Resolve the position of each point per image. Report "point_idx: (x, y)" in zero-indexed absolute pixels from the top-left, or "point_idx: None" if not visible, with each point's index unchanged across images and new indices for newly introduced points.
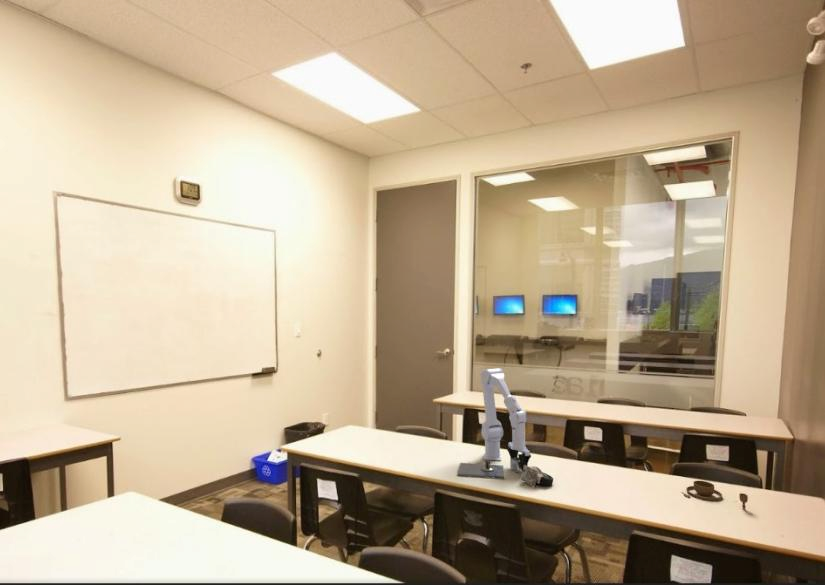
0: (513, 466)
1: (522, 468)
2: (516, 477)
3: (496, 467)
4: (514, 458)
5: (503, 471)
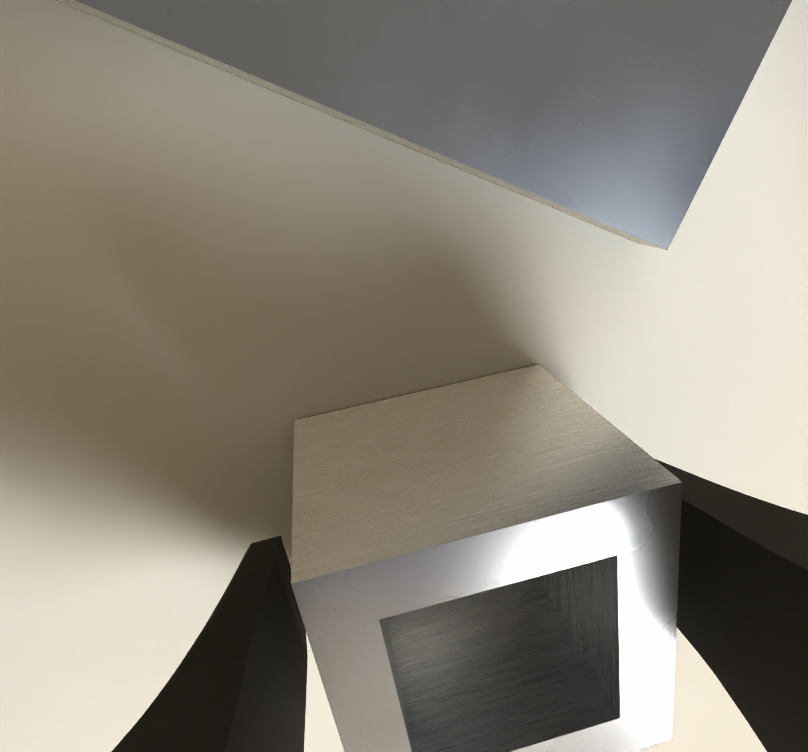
0: (447, 428)
1: (240, 576)
2: (16, 321)
3: (605, 2)
4: (611, 578)
5: (278, 79)
